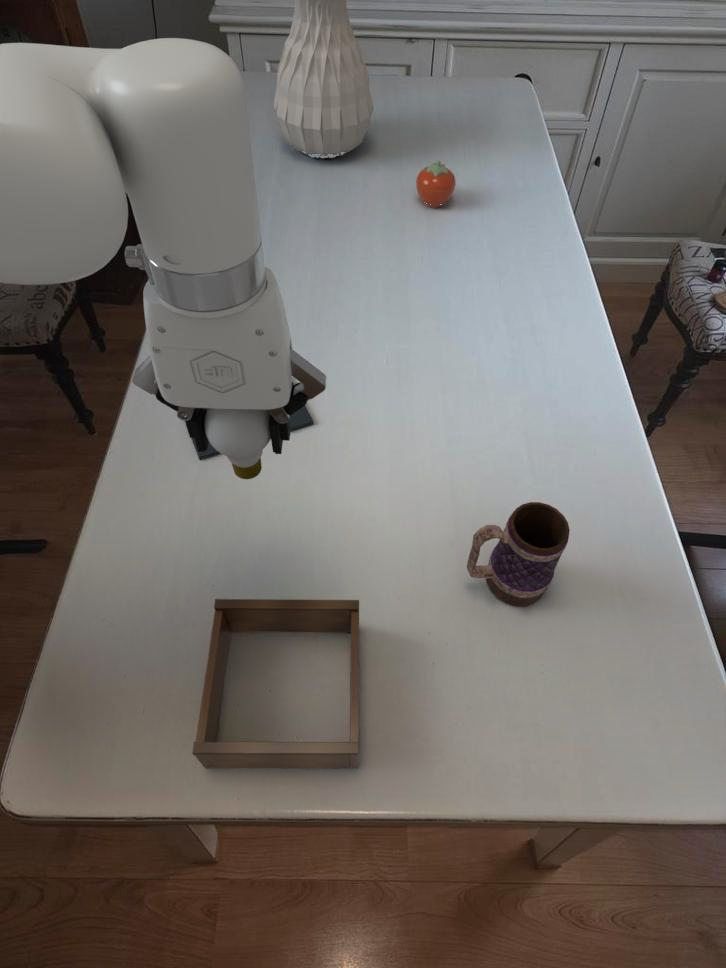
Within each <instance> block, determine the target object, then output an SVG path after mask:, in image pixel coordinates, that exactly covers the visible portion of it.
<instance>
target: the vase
mask: <svg viewBox="0 0 726 968" xmlns="http://www.w3.org/2000/svg"><path fill="white" fill-rule="evenodd" d="M293 10H294V11H293V17H292V23H291V25H290V26H291V27H290V31H289V35H288V36H287V38H286V40H285V43H284V45H283V49H282V54H281V58H280V59H279V62H278V68H277V74H276V88H275V93H274V99H273V100H274V101H273V109H274V112H275V116H276V119H277V122H278V125H279V128H280V131H281V134H282V136H283V138H284V140H285V142H286V143H287V144H288V145H289V146H291V145H293V147H292V148H293V149H295V150H296V151H298V152H300V151H305V152H306V154H311V155H312V154H320V156H322V155H324V156H327V155H328V154H333V155H337V154H339V156H340V158H341V157H343V156H345V155H346V154H348V153H349V152H352V151H354V150H355V149H356V148H357V147H359V146H360V145H361V144H362V143H363V141H364V138H365V136H366V133H367V131H368V128H369V126H370V122H371V119H372V116H373V112H374V103H373V99H372V94H371V90H370V77H369V74H368V69H367V68H368V67H367V65H366V62H365V60H364V58H363V52H362V50H361V47H360V44H359V42H358V40H357V38H356V36H355V34H354V33H355V32H354V29H353V27H352V24H351V21H350V16H349V12H348V8H347V0H294V9H293ZM354 148H355V149H354ZM351 150H352V151H351ZM341 152H345V154H343V155H341Z"/></svg>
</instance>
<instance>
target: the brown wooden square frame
mask: <svg viewBox="0 0 726 968" xmlns="http://www.w3.org/2000/svg"><path fill="white" fill-rule="evenodd" d="M213 609H214V615H213V622H212V627H211V635H210V640H209V649H208V654H207V660H206V661H207V662H206V669H205V675H204V682H203V689H202V695H201V704H200V709H199V716H198V723H197V729H196V736H195V741H194V742H193V746H192V752H191V753H192V755H193V756H195V757H196V759H197V760H198V761H199V763H200V764H201V765H202V766H203V768H204V769H359V759H360V758H359V757H360V600H359V599H277V598H276V599H275V598H273V599H270V598H269V599H267V598H266V599H262V598H261V599H259V598H257V599H255V598H251V599H250V598H236V599H235V598H231V599H229V598H215V599H214V605H213ZM231 632H265V633H266V632H271V633H272V632H277V633H278V632H280V633H281V632H282V633H286V632H288V633H290V632H293V633H294V632H295V633H297V632H299V633H307V632H308V633H350V677H349V678H350V679H349V680H350V682H349V685H350V689H349V691H350V692H349V741H218V734H219V726H220V717H221V712H222V711H221V710H222V702H223V695H224V688H225V687H224V686H225V681H226V679H225V678H226V671H227V665H228V656H229V649H230V640H231Z"/></svg>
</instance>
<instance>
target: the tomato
mask: <svg viewBox="0 0 726 968" xmlns="http://www.w3.org/2000/svg"><path fill="white" fill-rule="evenodd" d="M456 185H457V184H456V177H455V174H454V172H452V170H450V169H449V168H447V167H446V164H443V163H442V162H441V160H439V159H437V160H436V161H435V162H432V163H431V164H430V165H428V166H426V167H424V168H423V169H421V170H420V171H419V173H418V175H417V176H416V179H415V186H416V192H417V195H418V197H419V200H420V201H421V202H422V203H423V204H424V205H425V206H427V207H429V208H433V209H435V208H441V207H442V206H444V205H445V204H446V203H448V202H449V200H450V199H451V197H452V195H453V194H454V191H455V189H456ZM424 202H425V203H424ZM426 203H427V204H426ZM430 204H431V205H430ZM440 204H442V205H440Z"/></svg>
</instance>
